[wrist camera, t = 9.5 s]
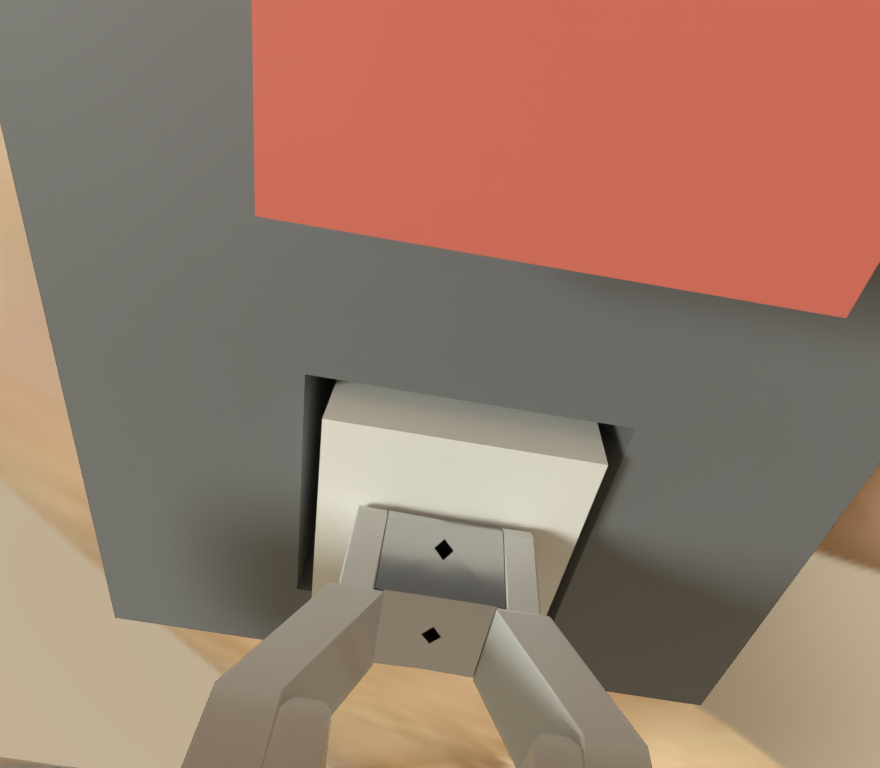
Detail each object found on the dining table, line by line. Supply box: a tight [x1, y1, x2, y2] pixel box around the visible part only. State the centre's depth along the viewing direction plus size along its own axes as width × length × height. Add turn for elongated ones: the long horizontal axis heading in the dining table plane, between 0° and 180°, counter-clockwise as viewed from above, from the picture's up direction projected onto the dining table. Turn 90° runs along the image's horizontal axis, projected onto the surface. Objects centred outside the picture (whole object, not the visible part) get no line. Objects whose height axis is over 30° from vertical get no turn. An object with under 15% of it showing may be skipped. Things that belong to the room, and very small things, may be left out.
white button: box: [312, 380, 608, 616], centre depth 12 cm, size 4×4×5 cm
